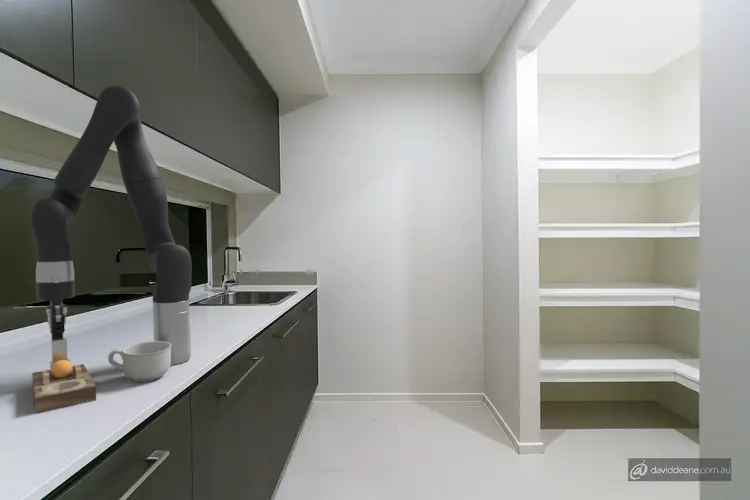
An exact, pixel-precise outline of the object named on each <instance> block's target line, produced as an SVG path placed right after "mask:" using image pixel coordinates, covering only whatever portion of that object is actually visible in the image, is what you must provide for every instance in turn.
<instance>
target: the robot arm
mask: <svg viewBox="0 0 750 500" xmlns="http://www.w3.org/2000/svg"><path fill="white" fill-rule="evenodd" d="M140 110H141V108H140V102H139V100H138V98H137V96H136V94H135V93H134V92H133V91H131V90H130V89H129V88H127V87H126V86H122V85H117V84H116V85H115V84H114V85H109V86H106V87H105V88H103V89H102V90H101V91H100V92H99V94H98V96H97V101H96V104H95V106H94V109H93V112H92V115H91V118H90V120H89V122H88V124H87V126H86V127H85V130H84V131H83V134H82V135H81V137H80V138H79V140H78V141H77V143H76V145H75V146H74V147H73V149H72V151H71V152H70V154H68V156H67V158H66V160H65V161H64V162H63V164H62V166H61V167H60V169H59V171H58V172H57V174H56V176H55V178H54V180H53V184H54V188H53V191H52V192H51V194H50V197H47V198H41V199H39V200H37V201H36V202H35V203H34V204H33V206H32V207H31V212H30V222H31V227H32V231H33V235H34V239H35V242H36V268H35V283H36V284H35V286H36V291H35V292H36V299H37V300H39V301H49V305H47V306H45V312H46V315H47V325H48V326H49V329H50V330H49V333H50V334H51V340H54V339H61V338H64V333H65V330H66V328H65V325H66V324H67V313H68V307H67V304H64V302H63V301H64V300H67V299H71V298H74V297H75V296H76V293H75V292H76V291H75V290H76V289H75V287H76V286H75V268H74V261H73V260H74V259H73V243H72V241H71V239H70V238H69V236H68V227H67V226H69V225H70V224H71V223H72V222H73V221H74V219H75V218H76V216H77V215H78V213H79V211H80V208H81V206H82V203H83V200H84V197H85V195H86V193H87V192H88V190H89V189H90V187H92V186H91V185H92V184H93V182H94V181H95V179H96V177H97V176H98V173H99V172H100V170H101V168H102V165H103V164H104V162H105V159H106V158H107V155H108V153H109V150H110V148H111V147H112V145H113V143H114V145H115V149H116V152H117V157H118V163H119V164H118V165H119V168H120V169H119V170H120V173H121V178H122V182H123V185H124V187H125V191H126V194H127V197H128V199H129V203H130V204H131V207H132V210H133V212H134V215H135V219H136V221H137V224H138V225H139V228H140V230H141V233H142V238H143V243H144V247H145V251H146V256H147V261H148V264H149V267H150V268H151V270H152V271H153V272H154V273H155V274H156V275H155V278H156V279H155V280H156V282H155V289H154V291H152V315H153V316H152V317H153V318H152V319H153V320H152V323H153V325H152V327H153V328H152V329H153V332H152V333H153V341H163V342H168V343H170V344H171V364H170V366H173V365H178V364H183V363H185V362H188V361H189V360H191V357H192V343H191V341H192V340H191V337H192V335H191V324H190V293H191V289H192V275H193V271H192V270H193V269H192V267H193V266H192V265H193V263H192V256H191V253H190V251H189V250H188V249H187V248H186V247H185V246H182V245H181V244H176V241H175V239H174V236H173V234H172V231H171V228H170V224H169V207H168V196H167V191H166V187H165V184H164V182H163V178H162V175H161V172H160V170H159V168H158V166H157V165H158V164H157V163H156V160H155V158H154V157H153V155H152V153H151V151H150V149H149V147H148V145H147V141H146V139H145V134H144V130H143V125H142V122H141V113H140Z"/></svg>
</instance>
